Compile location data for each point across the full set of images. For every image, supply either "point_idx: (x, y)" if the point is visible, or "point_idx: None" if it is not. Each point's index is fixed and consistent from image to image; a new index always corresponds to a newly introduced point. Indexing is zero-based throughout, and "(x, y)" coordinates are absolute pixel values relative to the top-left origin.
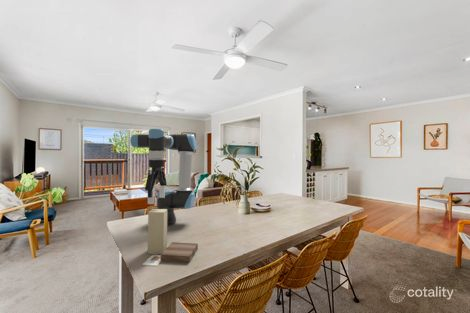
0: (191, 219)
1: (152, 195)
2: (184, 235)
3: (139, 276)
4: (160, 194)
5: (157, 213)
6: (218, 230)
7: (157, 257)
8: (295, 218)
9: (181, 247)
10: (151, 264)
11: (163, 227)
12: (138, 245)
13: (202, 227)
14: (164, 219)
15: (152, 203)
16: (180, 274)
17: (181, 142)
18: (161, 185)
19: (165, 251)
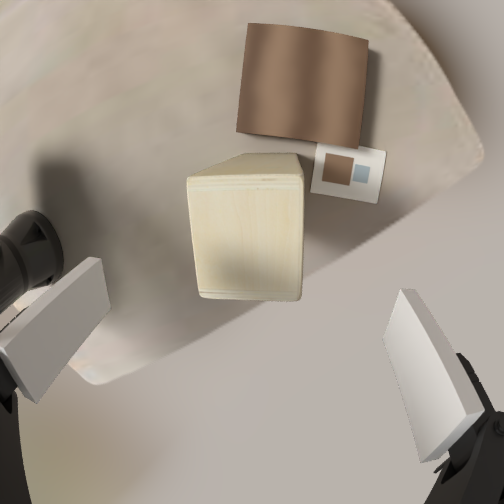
0: (5, 165)
1: (454, 362)
2: (121, 124)
3: (434, 190)
4: (90, 318)
5: (302, 228)
6: (81, 21)
7: (331, 165)
8: None
9: (292, 77)
10: (378, 172)
11: (299, 162)
12: None
13: (53, 89)
14: (283, 166)
15: (414, 299)
16: (428, 72)
17: None
18: (13, 382)
19: (331, 135)
